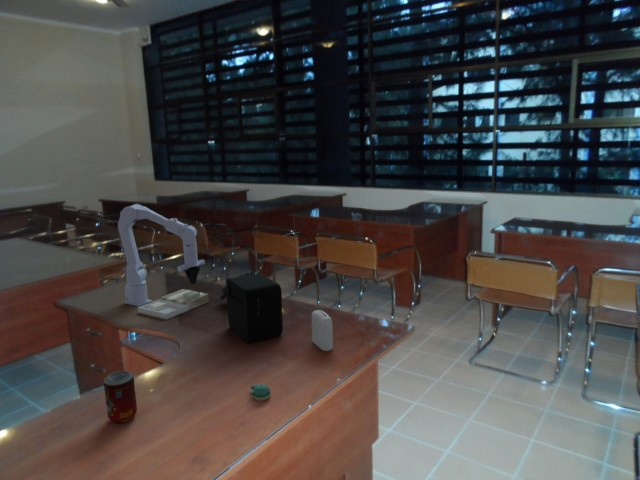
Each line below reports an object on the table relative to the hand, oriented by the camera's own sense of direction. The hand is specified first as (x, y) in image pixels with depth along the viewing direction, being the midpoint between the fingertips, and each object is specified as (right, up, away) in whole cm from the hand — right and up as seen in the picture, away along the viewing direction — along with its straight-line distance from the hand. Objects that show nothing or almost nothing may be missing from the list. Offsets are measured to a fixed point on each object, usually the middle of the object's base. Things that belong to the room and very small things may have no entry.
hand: (193, 283), depth 208 cm
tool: (+23, -9, -1) cm, 24 cm away
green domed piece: (+40, -25, -77) cm, 90 cm away
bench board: (-3, -9, 0) cm, 9 cm away
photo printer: (+57, -18, -46) cm, 75 cm away
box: (-10, -11, -10) cm, 18 cm away
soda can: (+6, -27, -87) cm, 91 cm away
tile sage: (0, -6, -3) cm, 7 cm away
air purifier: (+33, -15, -32) cm, 48 cm away
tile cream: (-13, -8, -8) cm, 17 cm away
